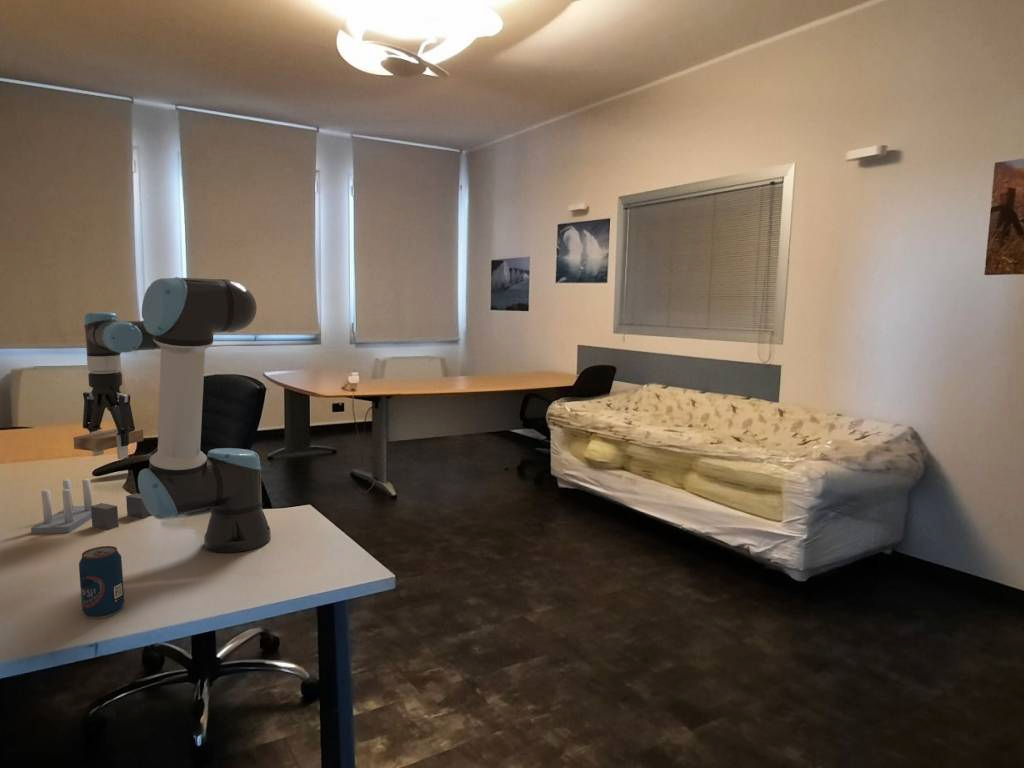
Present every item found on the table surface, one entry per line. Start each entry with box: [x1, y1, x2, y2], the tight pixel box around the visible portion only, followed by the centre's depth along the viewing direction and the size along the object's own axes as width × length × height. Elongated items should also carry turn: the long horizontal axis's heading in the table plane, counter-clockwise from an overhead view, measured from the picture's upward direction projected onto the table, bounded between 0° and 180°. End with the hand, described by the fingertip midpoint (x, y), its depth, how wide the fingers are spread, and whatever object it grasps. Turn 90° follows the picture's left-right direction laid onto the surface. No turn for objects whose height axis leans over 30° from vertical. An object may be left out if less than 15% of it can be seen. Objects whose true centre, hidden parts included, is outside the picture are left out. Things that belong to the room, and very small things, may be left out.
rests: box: [91, 492, 152, 531], centre depth 180 cm, size 6×13×6 cm, turn 156°
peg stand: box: [30, 478, 93, 535], centre depth 179 cm, size 9×18×10 cm, turn 7°
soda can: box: [78, 545, 125, 619], centre depth 128 cm, size 7×7×12 cm
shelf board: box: [72, 428, 144, 452], centre depth 178 cm, size 8×14×3 cm, turn 162°
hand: (110, 456), depth 178 cm, fingers closed on shelf board, 8 cm apart
